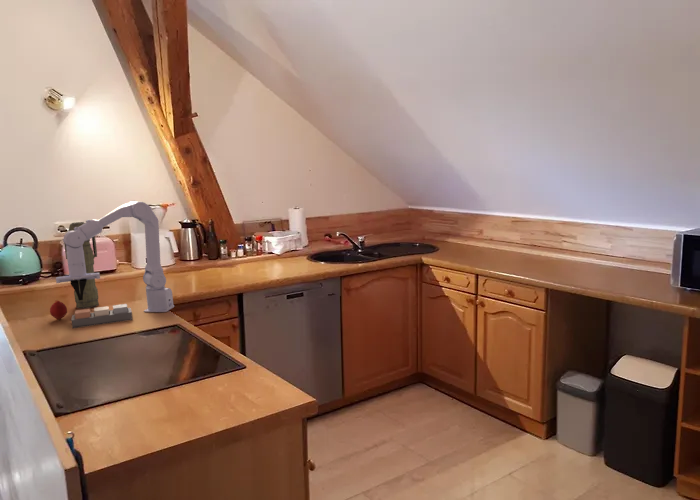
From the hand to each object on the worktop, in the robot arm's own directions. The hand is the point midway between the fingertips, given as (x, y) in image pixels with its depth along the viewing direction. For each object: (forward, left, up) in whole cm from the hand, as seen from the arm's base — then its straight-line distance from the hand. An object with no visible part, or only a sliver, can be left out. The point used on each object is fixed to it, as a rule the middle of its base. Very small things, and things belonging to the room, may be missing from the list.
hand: (80, 299), depth 212 cm
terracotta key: (0, 0, -7) cm, 7 cm away
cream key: (-6, -3, -7) cm, 10 cm away
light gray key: (-11, -7, -7) cm, 15 cm away
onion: (+13, -5, -10) cm, 17 cm away
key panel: (-6, -3, -9) cm, 11 cm away
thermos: (+14, -25, -10) cm, 31 cm away
